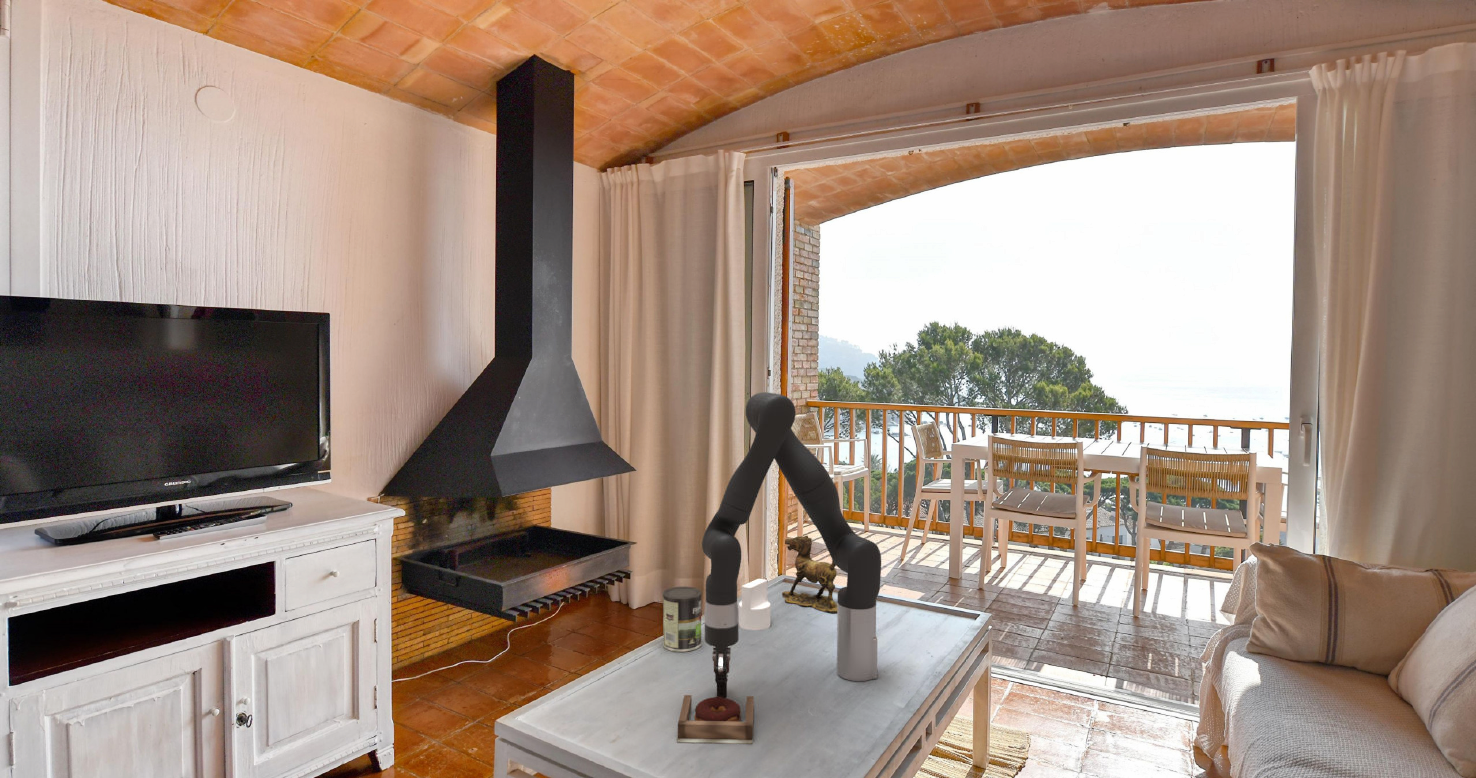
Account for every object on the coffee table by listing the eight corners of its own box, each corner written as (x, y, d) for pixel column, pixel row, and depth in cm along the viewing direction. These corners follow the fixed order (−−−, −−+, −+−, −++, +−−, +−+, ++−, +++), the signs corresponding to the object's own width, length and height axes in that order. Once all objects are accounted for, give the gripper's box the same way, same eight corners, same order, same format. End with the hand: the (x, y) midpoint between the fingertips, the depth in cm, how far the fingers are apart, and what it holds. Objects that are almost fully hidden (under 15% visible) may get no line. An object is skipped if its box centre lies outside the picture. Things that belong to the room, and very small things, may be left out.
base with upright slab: (750, 616, 214) (750, 576, 214) (776, 623, 209) (776, 581, 208) (732, 625, 207) (732, 584, 206) (758, 632, 202) (758, 590, 201)
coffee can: (705, 638, 198) (705, 587, 197) (696, 653, 188) (695, 599, 187) (669, 635, 200) (669, 584, 199) (657, 650, 190) (657, 597, 189)
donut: (696, 709, 158) (696, 691, 158) (741, 710, 158) (741, 692, 158) (691, 733, 148) (691, 714, 148) (740, 735, 148) (740, 715, 148)
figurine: (799, 589, 239) (799, 528, 238) (859, 609, 221) (860, 542, 220) (771, 597, 231) (771, 534, 230) (831, 619, 212) (832, 550, 211)
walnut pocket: (753, 709, 158) (753, 696, 158) (752, 743, 144) (752, 729, 144) (684, 708, 159) (684, 694, 158) (676, 742, 145) (676, 727, 145)
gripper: (737, 631, 155) (738, 711, 155) (739, 609, 168) (739, 683, 169) (702, 631, 155) (703, 711, 156) (706, 609, 168) (706, 683, 169)
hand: (721, 696), depth 162 cm, fingers closed
